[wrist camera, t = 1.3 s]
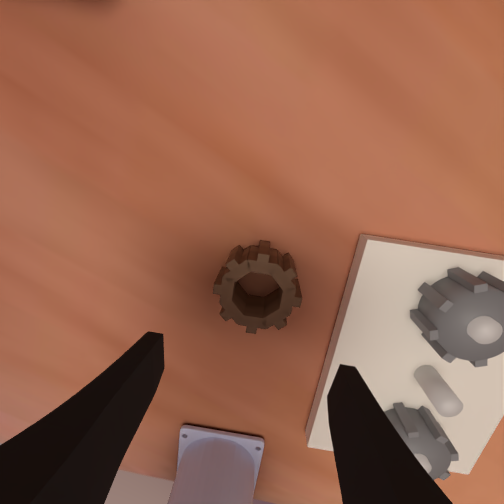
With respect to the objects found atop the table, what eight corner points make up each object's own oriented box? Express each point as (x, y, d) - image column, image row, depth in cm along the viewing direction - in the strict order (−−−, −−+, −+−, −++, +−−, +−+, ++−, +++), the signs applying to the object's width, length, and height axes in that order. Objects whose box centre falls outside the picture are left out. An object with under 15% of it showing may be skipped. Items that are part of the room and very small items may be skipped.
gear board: (457, 456, 25) (507, 537, 19) (305, 430, 25) (314, 502, 20) (562, 265, 19) (678, 305, 13) (360, 233, 19) (395, 261, 14)
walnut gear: (289, 316, 21) (292, 339, 19) (217, 304, 21) (209, 326, 19) (304, 247, 20) (310, 261, 17) (225, 234, 20) (217, 247, 17)
